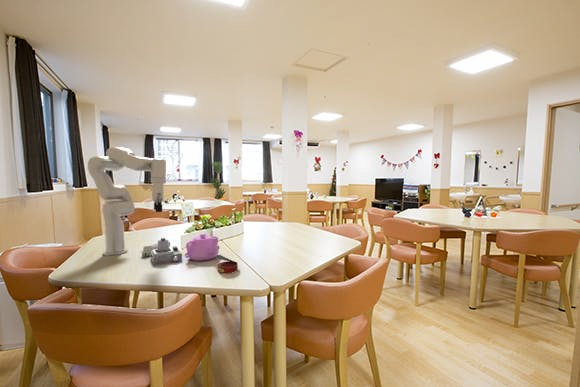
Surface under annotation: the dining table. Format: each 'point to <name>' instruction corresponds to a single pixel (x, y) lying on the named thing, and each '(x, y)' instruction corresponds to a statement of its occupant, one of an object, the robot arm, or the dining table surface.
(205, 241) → the teapot
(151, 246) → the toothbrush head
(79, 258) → the dining table surface
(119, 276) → the dining table surface
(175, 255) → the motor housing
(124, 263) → the dining table surface
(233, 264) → the canned food
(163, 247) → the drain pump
